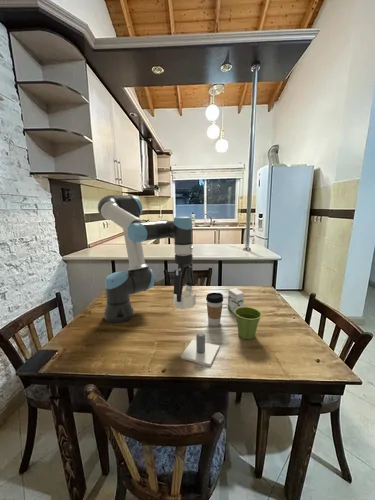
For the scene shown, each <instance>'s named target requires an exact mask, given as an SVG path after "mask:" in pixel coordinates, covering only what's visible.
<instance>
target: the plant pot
mask: <svg viewBox="0 0 375 500" xmlns="http://www.w3.org/2000/svg"><path fill="white" fill-rule="evenodd" d="M234 312H235V314H234V315H235V318H236V322H237V332H238V336H239V337H240V338H241V339H244V340H246V339H247V340H252V339H254V338H255V336H256V334H257V329H258V325H259V321H260V320H261V318H262V316H263V314H262V312H261V311H260V310H259V309H257V308H253V307H251V306H250V307H249V306H243V307H239V308H237V309H235V311H234Z"/></svg>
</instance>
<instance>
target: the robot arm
mask: <svg viewBox="0 0 375 500" xmlns="http://www.w3.org/2000/svg"><path fill="white" fill-rule="evenodd" d="M97 211H98V214H99V216H101V217H102V218H104V219H105V220H108V221H111V222H113V223H114V224H115V225H117V226H119V227H120V228H122V231H123V236H124V241H125V246H126V247H125V248H126V252H127V254H126V255H127V259H128V264H129V266H128V268H127V271H123V270H121V271H115V272H113V273H110V274H108V275H107V276H106V277H105V280H104V288H105V300H106V307H105V309H104V315H103V318H104V320H105V321H106V322H107V323H111V324H118V323H124V322H127V321H129V320H131V319H132V318H133V317H134V315H135V311H134V308H133V306H132V303H131V301H130V296H131V295H135V294H137V293H140V292H145V291H147V290H150V289H152V288H153V286H154V284H155V281H156V280H155V279H156V277H155V273H154V271H153V270H152V269H151V268H149V265H148V264H147V263H146V261H145V256H144V251H143V250H144V249H143V242H146V241H152V240H153V241H154V240H162V239H173V240H174V245H173V246H174V263H175V264H177V270H176V269H175V270H174V272H173V273H174V283H173V293H174V294H176V298H177V309H180V310H184V309H183V294H182V290H184V289H183V288H184V283H186V285H185V289H186V290H192V291H193V287H194V286H195V283H194V282H195V280H194V272H193V270H194V269H193V260H194V258H193V254H192V253H193V249H194V246H193V221H192V218H191V217H190V216H175V217H173V220H169V219H168V220H167V219H165V220H164V219H163V220H162V219H161V220H158V221H148V222H147V221H144V220H142V219H140V217H141V216H142V213H143V204H142V201H141V200H140V198H139V197H138V196H136V195H130V194H127V195H120V194H119V195H118V194H114V195H112V194H110V195H106V196H104V197H102V198H101V199H100V200H99V201H98V204H97ZM192 286H193V287H192Z"/></svg>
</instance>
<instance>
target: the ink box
mask: <svg viewBox="0 0 375 500" xmlns="http://www.w3.org/2000/svg"><path fill="white" fill-rule="evenodd" d="M227 294H228V296H227V309H228V310H230V311H231V312H232V313H233V314H234V315H236V314H235V312H234V311H235V309H237V308H239V307H244V301H245V299H244V298H245V293H244V292H243V291H241V290H240V289H239V288H237V287H234V288H229V289H228V293H227Z"/></svg>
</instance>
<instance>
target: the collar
mask: <svg viewBox="0 0 375 500" xmlns="http://www.w3.org/2000/svg"><path fill="white" fill-rule="evenodd" d="M182 294H183V309H182V310H185V309H192V308H193V307H195V305H197V304H196V303H197V302H196V299H197V298H196V297H197V295H196V292H195V291H194V290H193V289H192V290H186V288H185V289H183V290H182ZM172 295H173V296H172V297H173V299H172V300H173V305H174V307H175V308H177V298H176V294H174V292H173V293H172ZM177 309H178V308H177Z"/></svg>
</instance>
